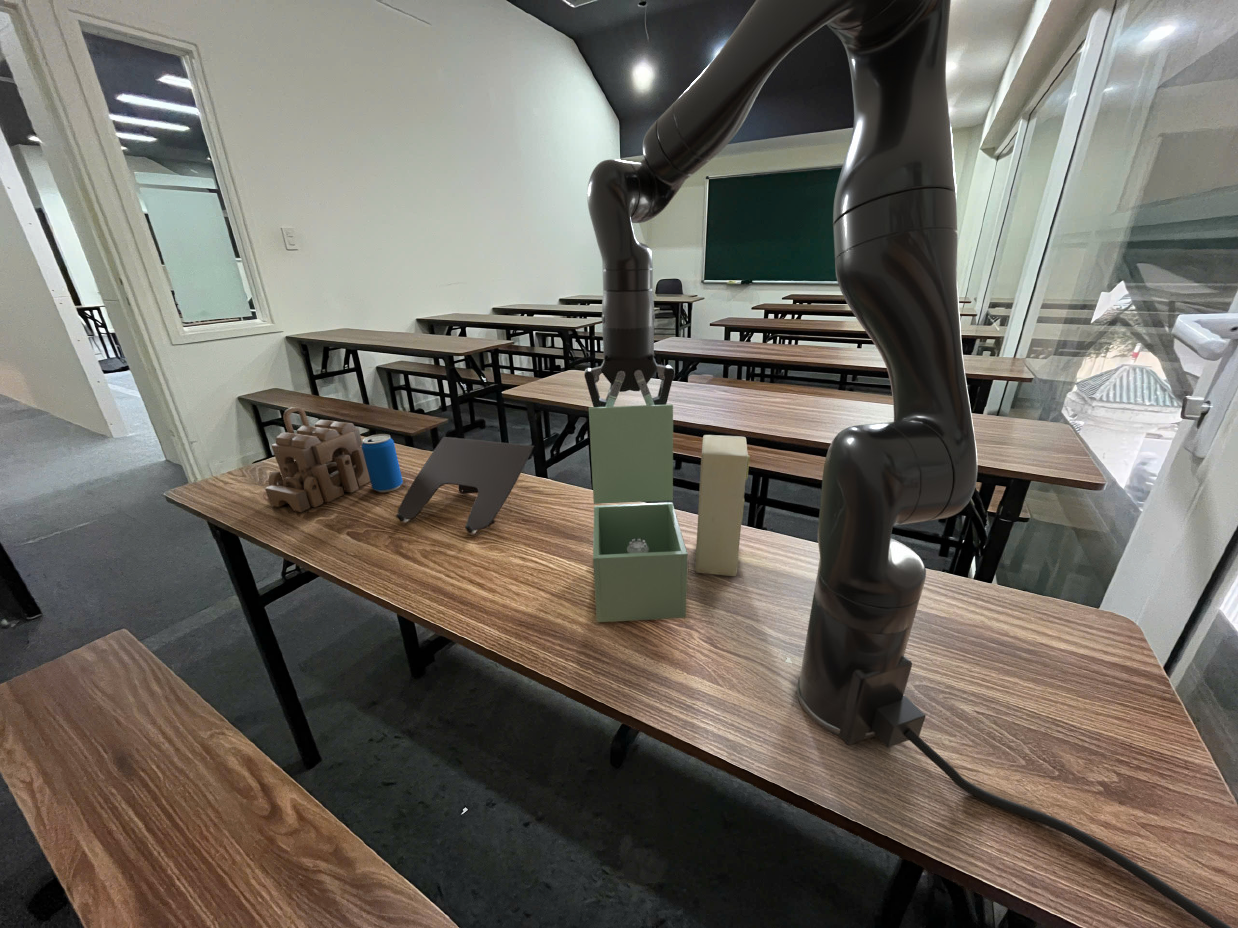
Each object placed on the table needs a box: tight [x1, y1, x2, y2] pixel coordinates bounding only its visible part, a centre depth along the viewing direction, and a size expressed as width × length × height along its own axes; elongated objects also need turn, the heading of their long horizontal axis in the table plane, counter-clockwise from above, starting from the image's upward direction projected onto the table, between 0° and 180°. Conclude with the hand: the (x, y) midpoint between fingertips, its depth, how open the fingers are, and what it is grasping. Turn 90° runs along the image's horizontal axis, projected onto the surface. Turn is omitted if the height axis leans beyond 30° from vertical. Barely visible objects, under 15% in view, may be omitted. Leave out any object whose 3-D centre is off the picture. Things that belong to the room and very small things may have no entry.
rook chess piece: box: [627, 539, 649, 554], centre depth 71 cm, size 4×4×8 cm
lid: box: [588, 403, 674, 505], centre depth 76 cm, size 15×13×5 cm
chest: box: [592, 501, 689, 623], centre depth 72 cm, size 15×13×11 cm
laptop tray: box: [395, 436, 535, 536], centre depth 100 cm, size 23×23×9 cm
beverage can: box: [361, 433, 404, 493], centre depth 107 cm, size 6×6×12 cm
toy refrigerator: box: [694, 434, 751, 577], centre depth 76 cm, size 8×7×21 cm
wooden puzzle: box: [264, 406, 371, 513], centre depth 107 cm, size 22×15×19 cm, turn 158°
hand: (629, 431), depth 77 cm, fingers closed on lid, 5 cm apart
